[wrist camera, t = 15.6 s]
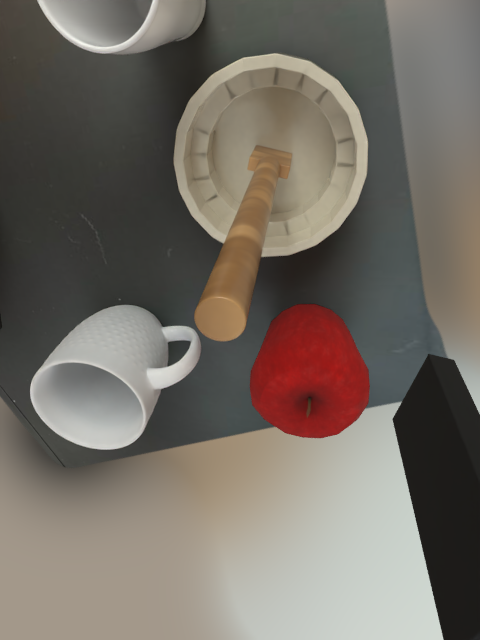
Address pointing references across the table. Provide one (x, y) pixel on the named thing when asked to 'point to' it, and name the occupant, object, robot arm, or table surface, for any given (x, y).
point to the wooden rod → (242, 250)
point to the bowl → (277, 133)
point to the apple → (309, 374)
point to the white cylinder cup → (124, 23)
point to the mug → (109, 376)
